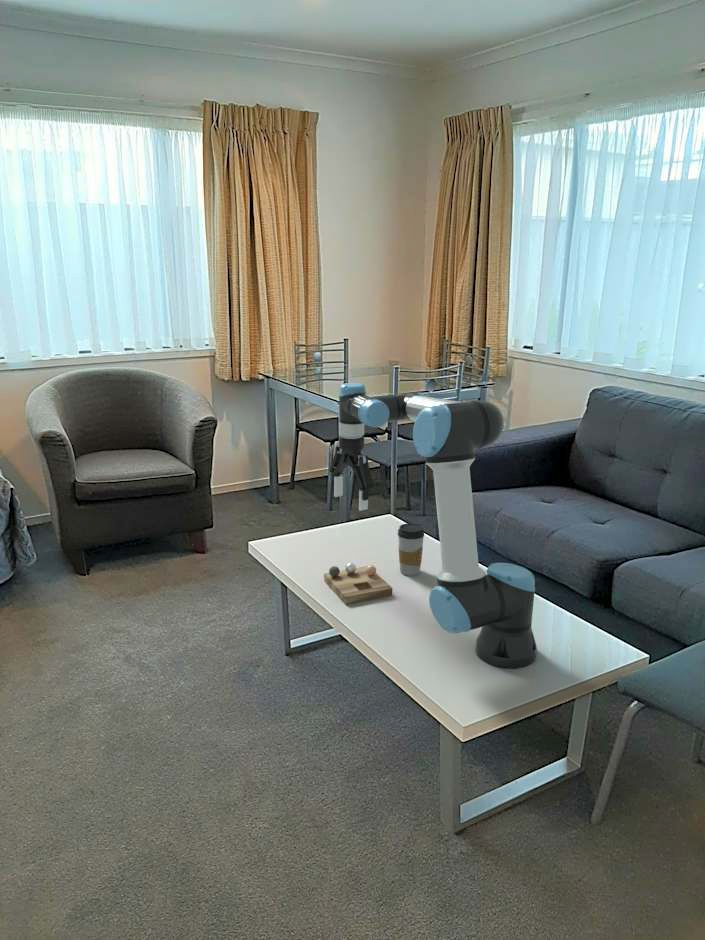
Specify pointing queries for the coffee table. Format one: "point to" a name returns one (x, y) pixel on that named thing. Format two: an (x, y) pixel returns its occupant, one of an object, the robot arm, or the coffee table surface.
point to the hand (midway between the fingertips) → (350, 502)
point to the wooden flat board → (358, 586)
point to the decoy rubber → (334, 571)
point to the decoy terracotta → (370, 570)
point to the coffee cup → (410, 548)
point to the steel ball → (350, 568)
